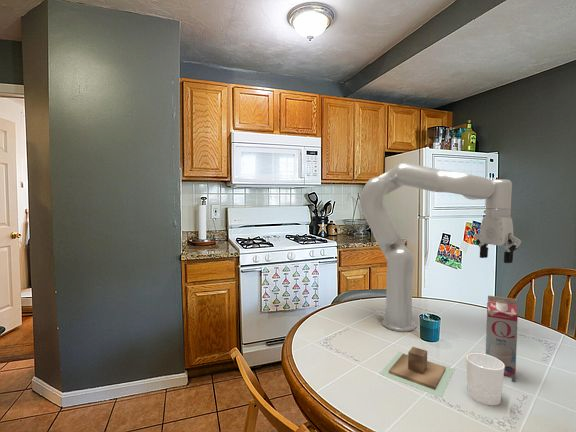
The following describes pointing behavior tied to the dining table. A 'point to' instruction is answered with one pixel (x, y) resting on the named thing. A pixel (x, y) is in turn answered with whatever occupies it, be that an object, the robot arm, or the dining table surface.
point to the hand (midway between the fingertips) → (495, 260)
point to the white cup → (485, 378)
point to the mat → (438, 391)
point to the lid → (418, 368)
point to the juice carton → (502, 332)
